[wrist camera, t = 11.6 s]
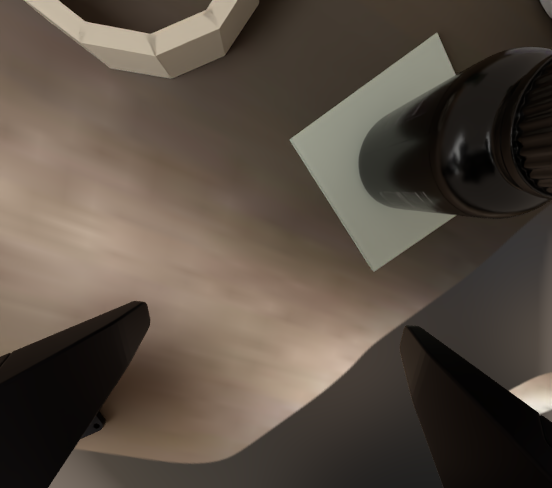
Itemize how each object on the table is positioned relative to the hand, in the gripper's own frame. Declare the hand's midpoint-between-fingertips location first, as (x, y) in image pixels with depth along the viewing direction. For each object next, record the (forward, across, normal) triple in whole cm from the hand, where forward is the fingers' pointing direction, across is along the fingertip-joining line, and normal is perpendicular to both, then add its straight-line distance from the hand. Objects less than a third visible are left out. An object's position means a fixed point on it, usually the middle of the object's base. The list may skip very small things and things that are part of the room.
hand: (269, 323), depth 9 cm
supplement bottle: (+14, -8, -5) cm, 16 cm away
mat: (+14, -8, -4) cm, 17 cm away
